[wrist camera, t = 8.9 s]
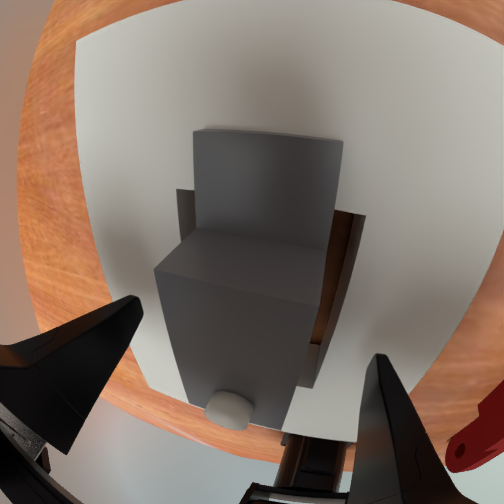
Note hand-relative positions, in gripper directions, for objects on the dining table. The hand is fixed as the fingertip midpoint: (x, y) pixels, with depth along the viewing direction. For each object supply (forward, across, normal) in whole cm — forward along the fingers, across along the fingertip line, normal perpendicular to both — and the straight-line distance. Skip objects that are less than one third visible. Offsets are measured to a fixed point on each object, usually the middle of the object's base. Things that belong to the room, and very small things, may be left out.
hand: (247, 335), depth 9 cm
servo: (+4, 0, 0) cm, 4 cm away
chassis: (+4, 0, 0) cm, 4 cm away
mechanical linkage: (+5, -23, +10) cm, 25 cm away
